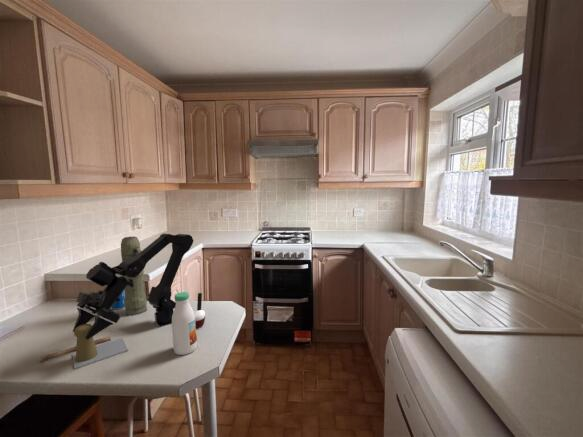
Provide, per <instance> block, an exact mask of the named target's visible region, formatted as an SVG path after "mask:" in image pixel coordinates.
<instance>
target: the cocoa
mask: <svg viewBox="0 0 583 437" xmlns="http://www.w3.org/2000/svg"><path fill="white" fill-rule="evenodd" d="M202 298H203V294H202V292H198V293H197V304H196V305H197V306H196V310H195V311H194V314H195V321H196V329H199V327H200V328H201V327H203V326H204V324H205V322H206V311H205V310H203V309H202Z"/></svg>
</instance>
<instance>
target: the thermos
mask: <svg viewBox="0 0 583 437" xmlns="http://www.w3.org/2000/svg"><path fill="white" fill-rule="evenodd" d="M141 251H142V250H141V243H140V241H139V238H138V237H137V236H125V237H123V238H122V239H121V242H120V252H121V254H120V256H121V262H123V261H125V260H126V259H128V258H130V257H133V256H135V255H137V254H139V253H140V252H141ZM144 269H145V268H144ZM144 269H143V270H142V272H141V273H140V274H139V275H138V276H136V277H127V276H123V277H124V278H126V279H132V280H133V285H134V287H130V286H127V287H126V288H125V299H124V303H125V308H124V309H125V314H126V315H127V316H137V315H140V314H143V313H145V312H147V310H148V308H147V307H148V306H147V304H148V299H147V295H146V293H145V283H144V273H145V270H144Z"/></svg>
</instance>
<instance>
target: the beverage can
mask: <svg viewBox="0 0 583 437" xmlns="http://www.w3.org/2000/svg"><path fill="white" fill-rule="evenodd" d="M118 299H120V301H119V302H115V303H114V305H113V306H112V308H111V310H112V309H113V310H116V311H118V310H122V309H125V303H124V299H125V290H124V291H123V292H122V294H121V295H120V296H119V298H118Z"/></svg>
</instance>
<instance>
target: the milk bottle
mask: <svg viewBox="0 0 583 437" xmlns="http://www.w3.org/2000/svg"><path fill="white" fill-rule="evenodd" d="M189 300H190V294H189V292H187V291H181V292H178V293H175V294H174V302H176V306H175V308H174V309H173V315H172V323H171V329H172V330H171V333H172V344H173V352H174V353H175V354H176V355H177V356H178V355H179V356H183V355H189V354H191V353H193V352H194V351H196V349H197V348H198V339H197V338H198V337H197V335H198V334H197V328H196V321H195V314H194V312H195V311H194V310H193V308H192V306H191V304H190V301H189Z"/></svg>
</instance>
